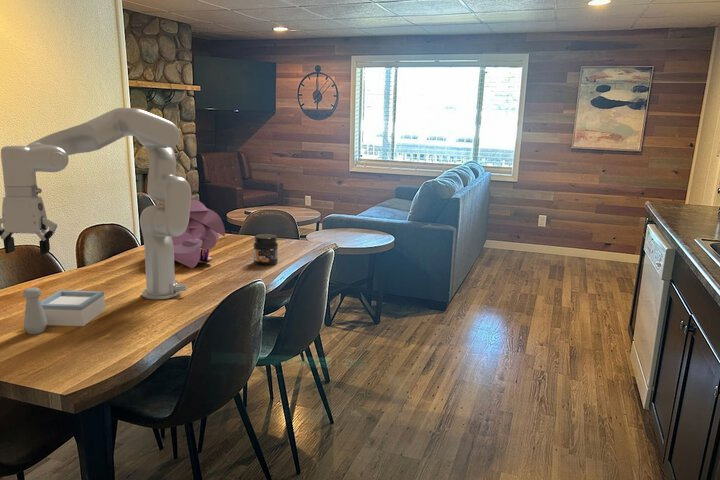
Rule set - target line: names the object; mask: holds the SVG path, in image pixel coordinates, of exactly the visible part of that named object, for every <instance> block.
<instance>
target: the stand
mask: <svg viewBox="0 0 720 480" xmlns="http://www.w3.org/2000/svg"><path fill="white" fill-rule="evenodd" d="M40 301H41V304H42V308H43V311H44V314H45V317H46V320H47V326H59V327H60V326H63V327H64V326H66V327H85V326H86V325H88V323H90V322H91V321H93V320H94V319H95V318H97V317H98V316H99V315H100V314H102V313H103V312H104V311H106V303H105V291H95V290H93V291H92V290H91V291H90V290H66V289H61V290H60V289H59V290H58V291H56V292H54V293H53V294H50V295H49V296H47V297H46V298H44V299H42V300H40Z"/></svg>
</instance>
